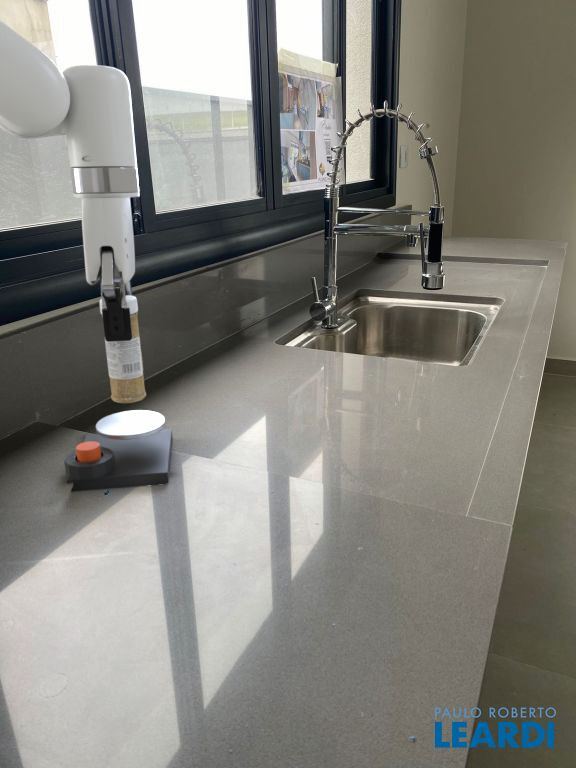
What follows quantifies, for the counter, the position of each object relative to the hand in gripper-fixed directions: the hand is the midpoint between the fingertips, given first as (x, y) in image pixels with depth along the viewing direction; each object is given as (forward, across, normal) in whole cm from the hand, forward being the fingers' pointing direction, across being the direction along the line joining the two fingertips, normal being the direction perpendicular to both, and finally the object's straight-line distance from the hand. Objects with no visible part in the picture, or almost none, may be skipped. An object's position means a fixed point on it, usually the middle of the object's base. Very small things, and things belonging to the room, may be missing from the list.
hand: (121, 333), depth 77 cm
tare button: (+14, +7, -4) cm, 16 cm away
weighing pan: (+14, 0, 0) cm, 14 cm away
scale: (+17, +2, -1) cm, 17 cm away
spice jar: (+9, 0, 0) cm, 9 cm away
